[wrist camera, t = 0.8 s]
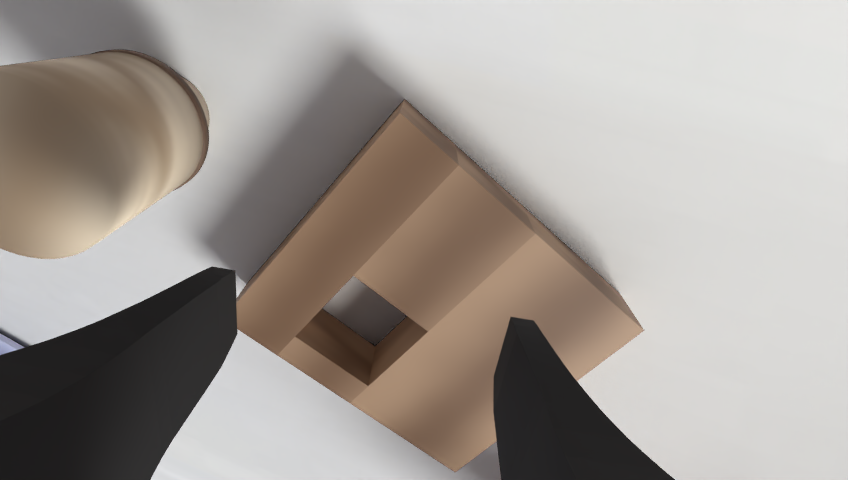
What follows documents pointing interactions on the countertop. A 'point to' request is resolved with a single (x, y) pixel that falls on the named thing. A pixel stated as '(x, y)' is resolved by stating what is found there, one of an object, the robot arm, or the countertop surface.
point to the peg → (91, 147)
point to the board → (427, 290)
